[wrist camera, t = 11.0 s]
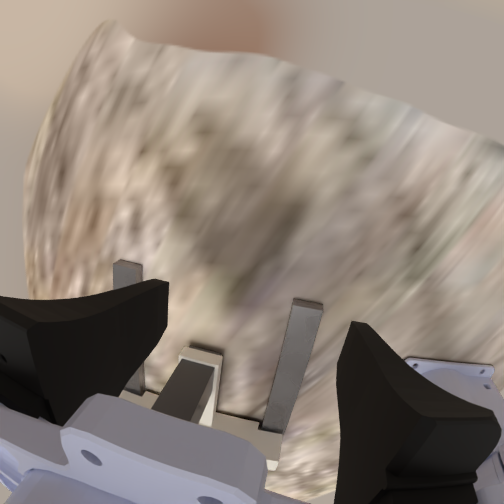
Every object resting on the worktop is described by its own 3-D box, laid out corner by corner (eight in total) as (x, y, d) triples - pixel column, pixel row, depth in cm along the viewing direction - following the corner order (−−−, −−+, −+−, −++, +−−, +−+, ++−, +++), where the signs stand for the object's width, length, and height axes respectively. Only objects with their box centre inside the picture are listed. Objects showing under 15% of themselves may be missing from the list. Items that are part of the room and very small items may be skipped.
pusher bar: (303, 368, 23) (296, 445, 16) (280, 437, 25) (268, 505, 18) (119, 321, 24) (66, 373, 17) (126, 394, 27) (88, 446, 20)
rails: (322, 304, 21) (323, 310, 20) (275, 452, 27) (273, 460, 26) (119, 259, 23) (113, 263, 22) (130, 412, 29) (126, 418, 28)
